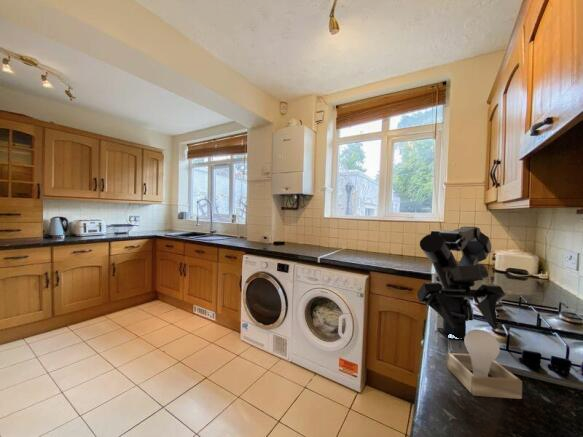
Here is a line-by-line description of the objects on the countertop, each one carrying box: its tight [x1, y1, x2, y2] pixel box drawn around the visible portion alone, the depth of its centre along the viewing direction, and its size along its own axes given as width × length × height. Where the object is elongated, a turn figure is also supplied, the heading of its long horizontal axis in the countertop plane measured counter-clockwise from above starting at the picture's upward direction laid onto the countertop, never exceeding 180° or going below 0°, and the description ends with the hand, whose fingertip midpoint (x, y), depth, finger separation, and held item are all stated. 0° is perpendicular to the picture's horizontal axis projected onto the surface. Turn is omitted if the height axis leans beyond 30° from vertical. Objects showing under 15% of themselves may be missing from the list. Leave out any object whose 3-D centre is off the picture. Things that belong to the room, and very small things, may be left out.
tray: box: [446, 352, 523, 400], centre depth 53 cm, size 9×9×4 cm
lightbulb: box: [463, 328, 501, 377], centre depth 53 cm, size 6×6×11 cm
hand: (474, 327), depth 55 cm, fingers open, 9 cm apart
